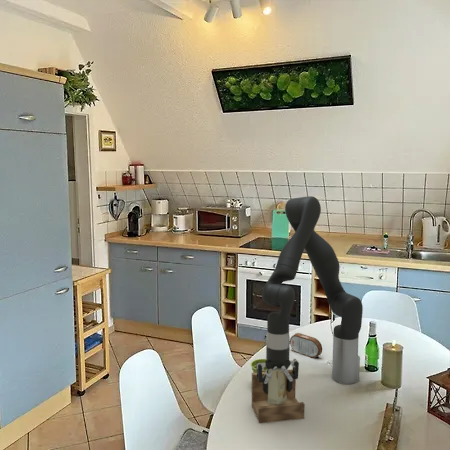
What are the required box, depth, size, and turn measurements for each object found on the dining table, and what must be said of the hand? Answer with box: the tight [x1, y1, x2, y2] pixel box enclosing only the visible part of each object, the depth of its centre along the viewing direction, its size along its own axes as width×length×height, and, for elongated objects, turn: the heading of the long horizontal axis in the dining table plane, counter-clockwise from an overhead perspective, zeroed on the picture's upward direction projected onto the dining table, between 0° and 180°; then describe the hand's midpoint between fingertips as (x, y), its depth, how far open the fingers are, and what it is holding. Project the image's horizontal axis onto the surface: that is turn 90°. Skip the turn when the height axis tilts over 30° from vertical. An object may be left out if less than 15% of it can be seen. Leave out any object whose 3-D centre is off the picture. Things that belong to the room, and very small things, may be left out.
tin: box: [290, 332, 323, 359], centre depth 199 cm, size 15×3×8 cm, turn 47°
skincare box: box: [268, 368, 287, 405], centre depth 152 cm, size 6×4×12 cm
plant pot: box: [250, 358, 267, 373], centre depth 171 cm, size 9×9×9 cm
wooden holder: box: [251, 368, 305, 424], centre depth 153 cm, size 15×10×12 cm
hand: (277, 391), depth 153 cm, fingers closed on skincare box, 7 cm apart
